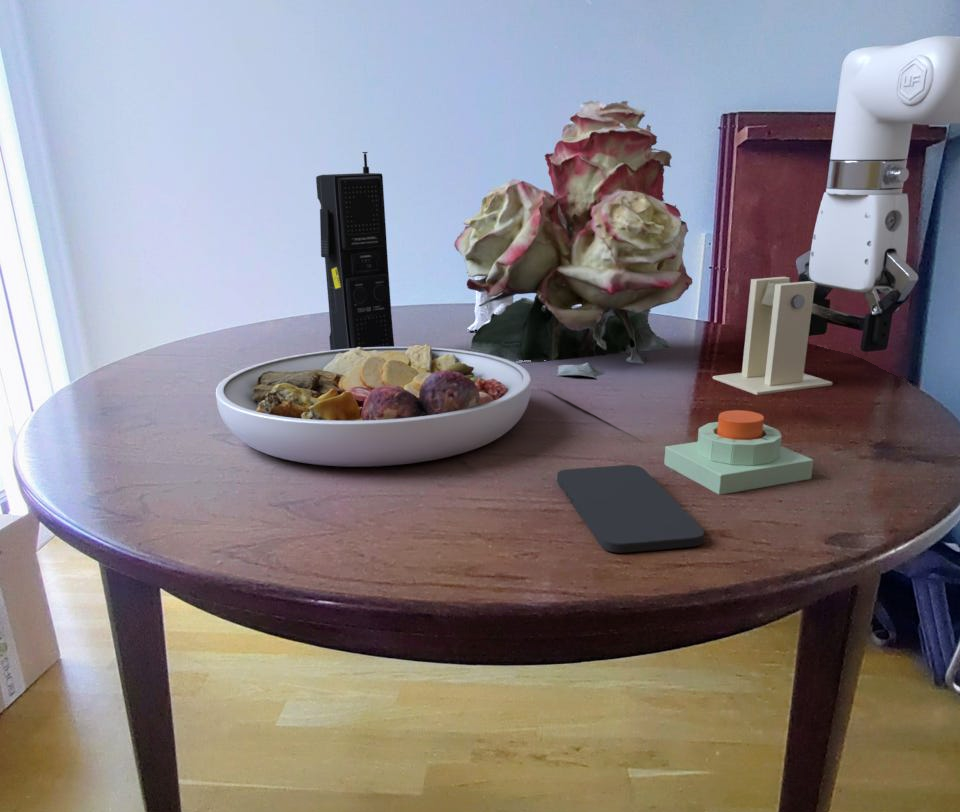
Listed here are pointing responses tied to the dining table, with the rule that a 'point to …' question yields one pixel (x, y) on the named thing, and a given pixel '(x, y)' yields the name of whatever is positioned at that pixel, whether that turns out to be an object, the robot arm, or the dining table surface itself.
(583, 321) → the rose bouquet
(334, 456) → the bowl
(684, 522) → the phone
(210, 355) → the dining table surface
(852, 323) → the lever
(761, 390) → the bracket
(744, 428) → the button
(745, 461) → the button block
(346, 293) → the portable radio
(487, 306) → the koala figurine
